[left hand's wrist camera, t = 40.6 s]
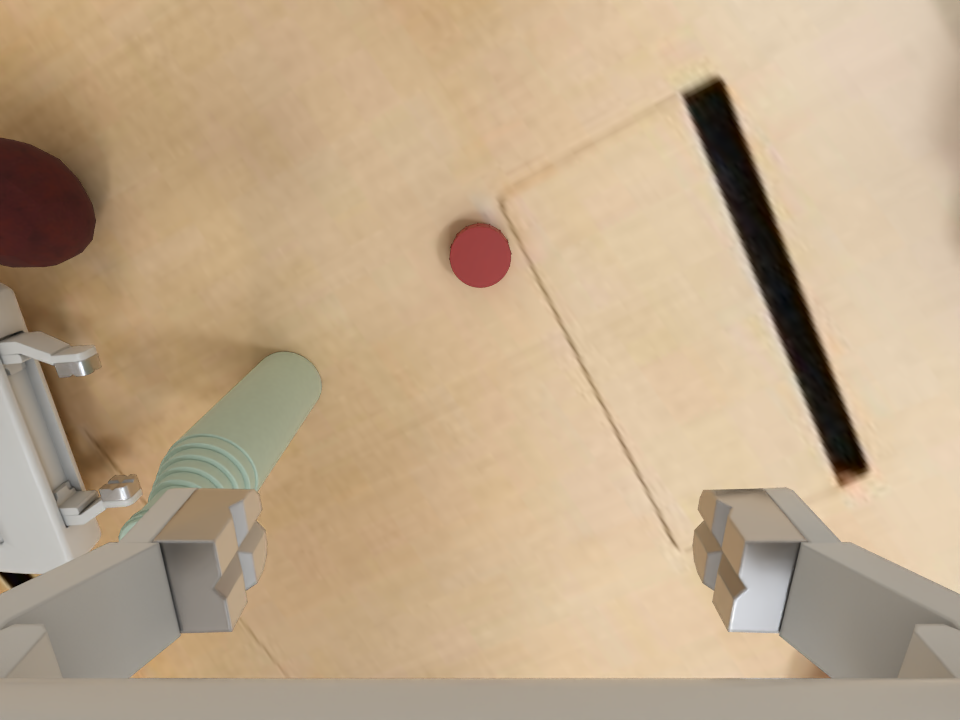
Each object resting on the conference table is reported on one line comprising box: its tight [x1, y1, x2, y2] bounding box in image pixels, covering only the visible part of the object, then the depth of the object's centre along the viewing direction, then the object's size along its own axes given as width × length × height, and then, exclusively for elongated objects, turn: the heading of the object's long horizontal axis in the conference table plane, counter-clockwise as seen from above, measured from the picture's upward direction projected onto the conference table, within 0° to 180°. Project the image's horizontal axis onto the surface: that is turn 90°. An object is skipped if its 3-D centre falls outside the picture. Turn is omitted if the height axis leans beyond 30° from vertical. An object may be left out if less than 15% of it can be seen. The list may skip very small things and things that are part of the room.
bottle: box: [119, 352, 322, 541], centre depth 33 cm, size 5×5×18 cm
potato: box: [0, 138, 96, 267], centre depth 34 cm, size 7×8×7 cm
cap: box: [449, 223, 511, 288], centre depth 37 cm, size 4×4×2 cm
